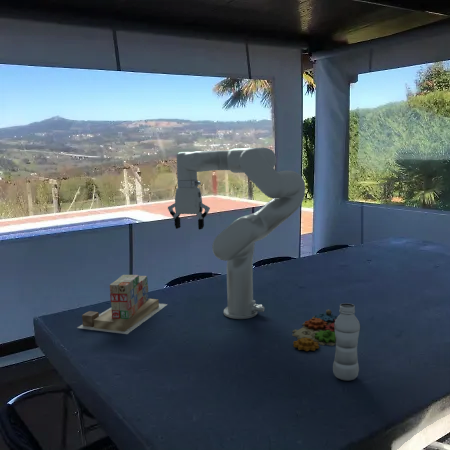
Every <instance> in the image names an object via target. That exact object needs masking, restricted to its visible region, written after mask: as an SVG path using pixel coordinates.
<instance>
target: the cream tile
mask: <svg viewBox="0 0 450 450" xmlns="http://www.w3.org/2000/svg"><path fill="white" fill-rule="evenodd" d="M166 306H168V303H167V304H166V303H159V307H158V308H157V309H155V310H154V311H153V312H151V313H150V314H148V315H147V316H146V317H144V318H143V319H141V320H140V321H139V322H137V323H136V324H134V325H133V326H132V327H130V328H129V329H127V330H126V331H125V332H123V331H115V330H107V329H99V328H94V327H87V326H83V323H82V324H81V325H79V326H77V327H76V328H77V329H82V330H89V331H90V330H91V331H100V332H106V333H107V332H108V333H114V334H115V333H116V334H123V335H129V334H130V333H131V332H133V330H135V329H136V328H138V327H140V326H141V325H142V324H143V323H144V322H147V320H149V319H150V318H152V317H153V316H155V314H157V313H158V312H160V311H161V310H162V309H163V308H165V307H166ZM109 310H111V307H109V308H107V309H106V310H104V311H103V312H101V313H99V316H101V315H102V314H104V313H106V312H107V311H109Z"/></svg>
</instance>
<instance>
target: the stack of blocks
mask: <svg viewBox="0 0 450 450" xmlns="http://www.w3.org/2000/svg"><path fill="white" fill-rule="evenodd" d="M109 295H110V296H109V297H110V305H111V306H110V308H111V309H112V310H111V311H112V318H115V319H129V318H130V317H131V316H132V315H133V314H134V313H135V312H136V311H137V310H138V309H139V308H140V307H141V306H142V305H143V304H144V303H145V302H146V301H147V300H148V299H150V295H149V283H148V276H147V275H139V274H122V275H120V276H119V277H118V278H117V279H116V280H115V281H113V282H111V283H110V284H109Z"/></svg>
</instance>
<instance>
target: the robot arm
mask: <svg viewBox="0 0 450 450" xmlns="http://www.w3.org/2000/svg"><path fill="white" fill-rule="evenodd" d="M276 164H277V157H276V153H275V152H274V151H273V150H272V149H270V148H269V147H240V148H238V147H236V148H232V149H231V148H230V149H228V150H225V149H224V150H196V151H180V152H178V153H177V154H176V174H177V175H176V176H177V178H176V179H177V187H176V189H175V198H174V203H173V204H171V205H169V206H167V210H168V212H169V213H170V215H171V216H172V218H173V219H174V227H175V229H177V230H178V229H180V228H181V227H182V226H181V217H180V215H196V216H197V217H198V220H197V223H198V224H197V226H198V231H199V230H202V229H203V228H204V226H205V221H204V220H205V217H206V216H208V215H209V211H210V209H211V207H209V206H208V205H206V204H205V203H203V198H202V193H201V192H202V191H201V188H200V187H198V186H200V185H201V181H199V180H198V173H201V172H210V171H212V172H213V171H229V172H231V173H235V174H237V173H238V174H243V173H244V174H245V175H246V177H248V179H249V180H250V181H251V182H252V183H253V184H254V185H255V187H257V188H258V189H259V190H260V192H261V193H262V194H264V195H265V196H266V197H268V198H270V199H271V200H269V201H268V202H267V203H266V204H264V206H261V208H260V209H258V210H257V211H256V212H253V213H250V214H246V215H244V216H243V215H242V216H241V217H238V218H237V219H235V220H234V221H233V222H231V223H230V224H229V225H228V226H227V227H225V229H223V230H222V231H221V232H219V234H218V235H217V236H215V238H214V240H213V242H212V244H211V245H212V248H211V249H212V253H213V255H214V256H215V258H216V259H218V260H219V261H223V262H226V291H227V293H226V296H227V299H226V302H227V306H226V307H225V308H224V309H223V315H224V316H225V317H227V318H229V319H235V320H245V319H251V318H253V317H256V316H257V315H258V313H259V312H260V313H261V312H262V313H264V311H265V306H263V304H257V303H256V300H255V299H254V284H253V283H254V282H253V281H254V279H253V277H254V275H253V265H254V264H253V262H254V261H253V260H254V251H255V246H256V245H255V243H256V242H259V241H261V240H264V239H265V238H266V237H268V236H269V235H270V234H271V233H272V232H273V231H275V230H276V229H277V228H278V227H279V226H280V225H282V224H283V223H284V222H285V221H286V220H288V219H289V218H290V217H291V216H292V215H294V214H295V213H296V211H297V210H298V209H299V208H300V206H301V205H302V203H303V201H304V199H305V196H306V195H305V194H306V183H305V180H304V178H303V176H302V175H301V174H300V173H299V172H296V171H294V170H281V171H277V170H276V169H275V167H276ZM203 210H204V212H203Z"/></svg>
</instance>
